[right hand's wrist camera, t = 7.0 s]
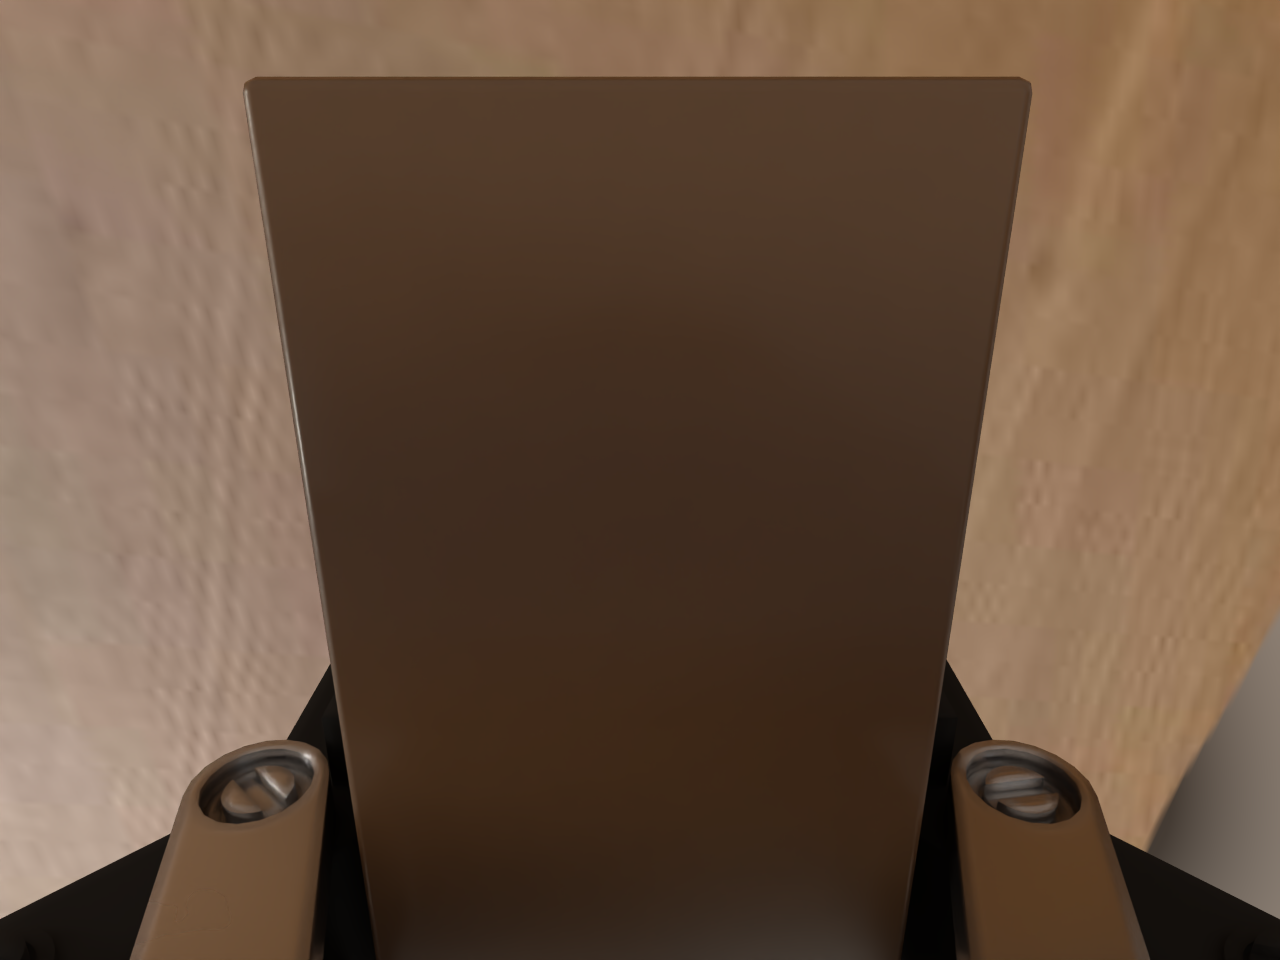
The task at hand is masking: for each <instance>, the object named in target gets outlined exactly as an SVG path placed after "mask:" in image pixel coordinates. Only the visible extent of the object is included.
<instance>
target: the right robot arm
mask: <svg viewBox="0 0 1280 960" xmlns="http://www.w3.org/2000/svg"><path fill="white" fill-rule="evenodd" d="M0 960H376V956H375V949H374V943H373V936H372V930H371V923H370V917H369V910H368V904H367V897H366V891H365V884H364V878H363V871H362V865H361V858H360V852H359V845H358V838H357V832H356V825H355V819H354V812H353V806H352V799H351V793H350V786H349V780H348V773H347V767H346V760H345V754H344V747H343V741H342V734H341V728H340V721H339V715H338V708H337V702H336V695H335V689H334V682H333V676H332V669H331V664H330V666H329V667H328V669H327V671H326V672H325V674H324V676H323V678H322V679H321V681H320V683H319V685H318V686H317V688H316V690H315V692H314V693H313V695H312V697H311V699H310V700H309V702H308V704H307V706H306V707H305V709H304V711H303V712H302V714H301V716H300V718H299V719H298V721H297V723H296V725H295V726H294V728H293V730H292V732H291V733H290V735H289V737H288V739H287V740H274V741H264V742H260V743H256V744H252V745H248V746H244V747H242V748H239V749H237V750H235V751H232V752H230V753H228V754H225V755H223V756H222V757H220V758H219V759H217V760H216V761H214V762H212V763H211V764H209V765H208V766H206V767H205V768H204V769H203V770H202V771H201V772H200V773H199V774H198V775H197V776H196V777H195V778H194V779H193V780H192V781H191V782H190V784H189V786H188V788H187V790H186V791H185V793H184V795H183V797H182V800H181V803H180V806H179V809H178V813H177V816H176V819H175V822H174V825H173V828H172V831H171V834H169V835H167V836H165V837H163V838H161V839H159V840H157V841H155V842H153V843H151V844H149V845H147V846H145V847H143V848H141V849H139V850H137V851H135V852H133V853H131V854H129V855H127V856H125V857H123V858H121V859H119V860H117V861H115V862H113V863H111V864H109V865H107V866H105V867H103V868H101V869H99V870H97V871H95V872H93V873H91V874H89V875H87V876H85V877H83V878H81V879H79V880H77V881H75V882H73V883H71V884H69V885H67V886H65V887H63V888H61V889H59V890H57V891H55V892H53V893H51V894H49V895H47V896H45V897H43V898H41V899H39V900H37V901H35V902H33V903H31V904H29V905H27V906H25V907H23V908H21V909H19V910H17V911H15V912H13V913H11V914H9V915H8V916H6V917H4V918H2V919H0ZM901 960H1280V919H1278V918H1276V917H1274V916H1272V915H1270V914H1268V913H1266V912H1264V911H1262V910H1260V909H1258V908H1256V907H1254V906H1252V905H1250V904H1248V903H1246V902H1244V901H1242V900H1240V899H1238V898H1236V897H1234V896H1232V895H1230V894H1228V893H1226V892H1224V891H1222V890H1220V889H1218V888H1216V887H1214V886H1212V885H1210V884H1208V883H1206V882H1204V881H1202V880H1200V879H1198V878H1196V877H1194V876H1192V875H1190V874H1188V873H1186V872H1184V871H1182V870H1180V869H1178V868H1176V867H1174V866H1172V865H1170V864H1168V863H1166V862H1164V861H1162V860H1160V859H1158V858H1156V857H1154V856H1152V855H1150V854H1148V853H1146V852H1144V851H1142V850H1140V849H1138V848H1136V847H1134V846H1132V845H1130V844H1128V843H1126V842H1124V841H1122V840H1120V839H1118V838H1116V837H1114V836H1112V835H1110V834H1109V831H1108V828H1107V825H1106V822H1105V819H1104V816H1103V813H1102V809H1101V806H1100V803H1099V800H1098V797H1097V795H1096V793H1095V791H1094V790H1093V788H1092V786H1091V784H1090V782H1089V781H1088V780H1087V779H1086V778H1085V777H1084V776H1083V775H1082V774H1081V773H1080V772H1079V771H1078V770H1077V769H1076V768H1075V767H1074V766H1072V765H1071V764H1069V763H1068V762H1066V761H1064V760H1063V759H1061V758H1060V757H1058V756H1057V755H1055V754H1052V753H1050V752H1048V751H1045V750H1043V749H1041V748H1038V747H1036V746H1032V745H1028V744H1024V743H1020V742H1016V741H1005V740H992V738H991V736H990V734H989V733H988V731H987V729H986V727H985V726H984V724H983V722H982V721H981V719H980V717H979V715H978V714H977V712H976V710H975V708H974V707H973V705H972V703H971V701H970V700H969V698H968V696H967V694H966V693H965V691H964V689H963V687H962V686H961V684H960V682H959V681H958V679H957V677H956V675H955V674H954V672H953V670H952V668H951V667H950V665H949V663H948V661H947V660H946V665H945V671H944V678H943V685H942V691H941V698H940V704H939V711H938V718H937V724H936V731H935V737H934V744H933V751H932V757H931V764H930V770H929V777H928V784H927V790H926V797H925V803H924V810H923V817H922V823H921V830H920V836H919V843H918V849H917V856H916V863H915V869H914V876H913V882H912V889H911V896H910V902H909V909H908V915H907V922H906V929H905V935H904V942H903V948H902V955H901Z"/></svg>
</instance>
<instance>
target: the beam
mask: <svg viewBox="0 0 1280 960" xmlns="http://www.w3.org/2000/svg"><path fill="white" fill-rule="evenodd" d="M243 96H244V102H245V109H246V115H247V122H248V128H249V135H250V141H251V148H252V154H253V161H254V167H255V174H256V181H257V187H258V194H259V200H260V207H261V213H262V220H263V226H264V233H265V239H266V246H267V252H268V259H269V265H270V272H271V278H272V285H273V291H274V298H275V304H276V311H277V317H278V324H279V330H280V337H281V343H282V350H283V356H284V363H285V369H286V376H287V382H288V389H289V396H290V402H291V409H292V415H293V422H294V428H295V435H296V441H297V448H298V454H299V461H300V467H301V474H302V480H303V487H304V493H305V500H306V506H307V513H308V519H309V526H310V532H311V539H312V545H313V552H314V558H315V565H316V571H317V578H318V584H319V591H320V597H321V604H322V610H323V617H324V624H325V630H326V637H327V643H328V650H329V656H330V663H331V669H332V676H333V682H334V689H335V695H336V702H337V708H338V715H339V721H340V728H341V734H342V741H343V747H344V754H345V760H346V767H347V773H348V780H349V786H350V793H351V799H352V806H353V812H354V819H355V825H356V832H357V838H358V845H359V852H360V858H361V865H362V871H363V878H364V884H365V891H366V897H367V904H368V910H369V917H370V923H371V930H372V936H373V943H374V949H375V956H376V960H901V955H902V948H903V942H904V935H905V929H906V922H907V915H908V909H909V902H910V896H911V889H912V882H913V876H914V869H915V863H916V856H917V849H918V843H919V836H920V830H921V823H922V817H923V810H924V803H925V797H926V790H927V784H928V777H929V770H930V764H931V757H932V751H933V744H934V737H935V731H936V724H937V718H938V711H939V704H940V698H941V691H942V685H943V678H944V671H945V665H946V658H947V652H948V645H949V639H950V632H951V625H952V619H953V612H954V606H955V599H956V592H957V586H958V579H959V573H960V566H961V559H962V553H963V546H964V540H965V533H966V526H967V520H968V513H969V507H970V500H971V494H972V487H973V480H974V474H975V467H976V461H977V454H978V447H979V441H980V434H981V428H982V421H983V414H984V408H985V401H986V395H987V388H988V381H989V375H990V368H991V362H992V355H993V349H994V342H995V335H996V329H997V322H998V316H999V309H1000V302H1001V296H1002V289H1003V283H1004V276H1005V269H1006V263H1007V256H1008V250H1009V243H1010V236H1011V230H1012V223H1013V217H1014V210H1015V203H1016V197H1017V190H1018V184H1019V177H1020V171H1021V164H1022V157H1023V151H1024V144H1025V138H1026V131H1027V124H1028V118H1029V111H1030V105H1031V98H1032V89H1031V83H1030V82H1029V81H1027V80H1025V79H1023V78H1021V77H255V78H253V79H251V80H249V81H247V82H245V84H244V91H243Z"/></svg>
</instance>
